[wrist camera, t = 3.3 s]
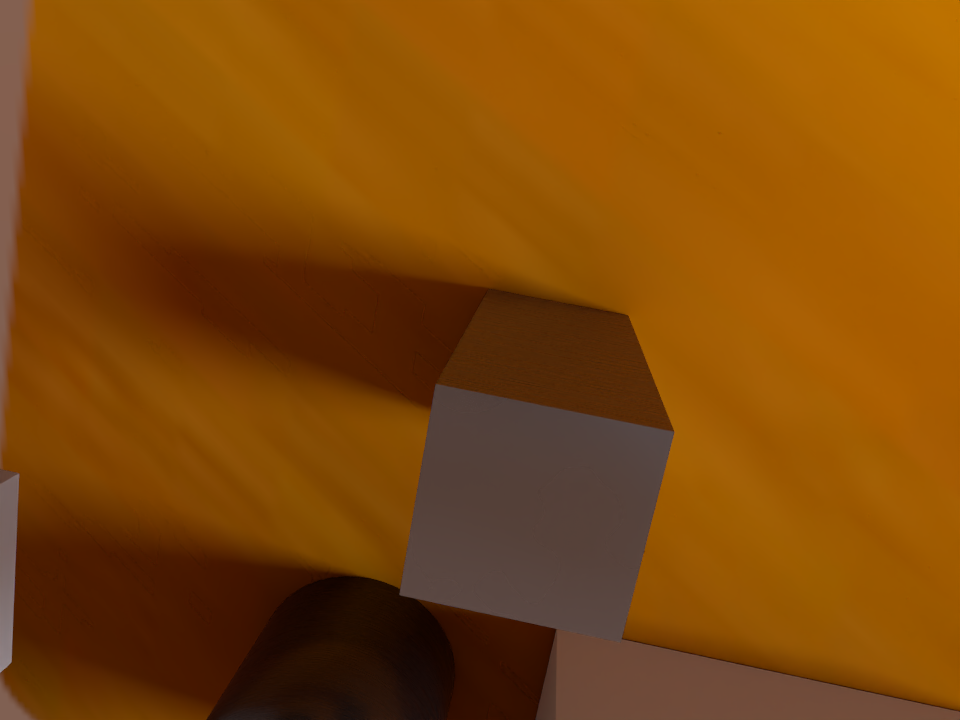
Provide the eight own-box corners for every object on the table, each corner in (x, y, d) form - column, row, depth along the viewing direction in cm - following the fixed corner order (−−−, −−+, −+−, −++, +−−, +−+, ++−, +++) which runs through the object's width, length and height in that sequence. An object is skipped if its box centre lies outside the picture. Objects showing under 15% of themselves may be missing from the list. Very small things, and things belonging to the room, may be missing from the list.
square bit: (488, 288, 23) (436, 383, 14) (628, 315, 23) (674, 432, 13) (464, 420, 24) (399, 595, 15) (598, 446, 24) (620, 642, 14)
